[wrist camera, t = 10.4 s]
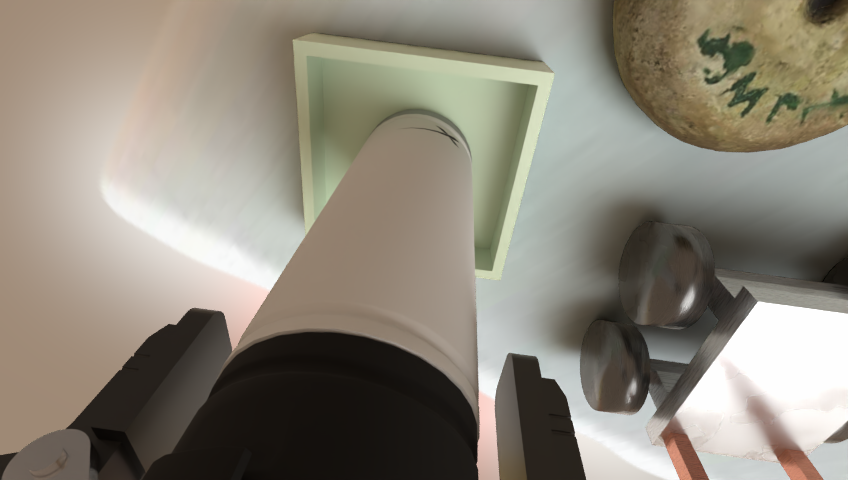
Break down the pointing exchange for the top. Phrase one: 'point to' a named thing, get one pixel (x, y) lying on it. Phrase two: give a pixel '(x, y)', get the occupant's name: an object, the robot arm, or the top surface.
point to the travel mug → (359, 333)
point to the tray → (428, 90)
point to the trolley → (724, 356)
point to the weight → (736, 69)
